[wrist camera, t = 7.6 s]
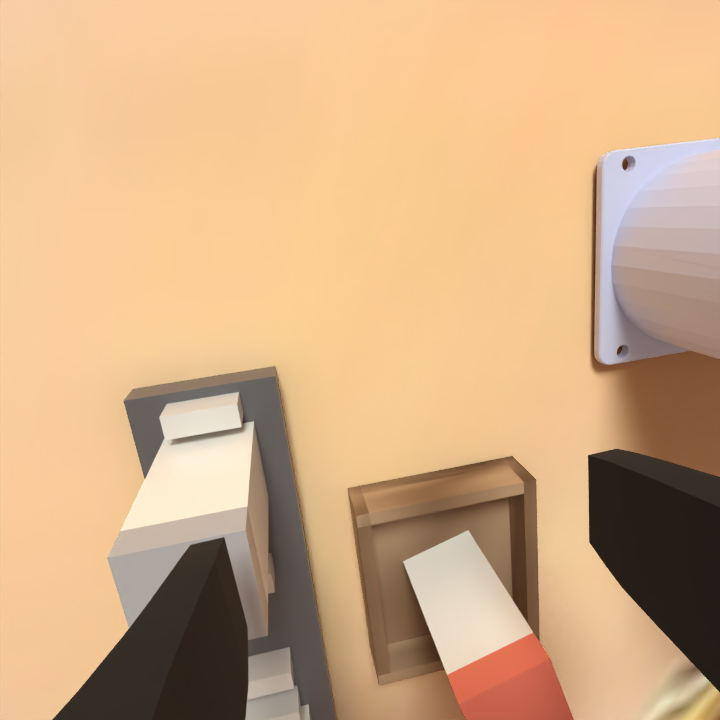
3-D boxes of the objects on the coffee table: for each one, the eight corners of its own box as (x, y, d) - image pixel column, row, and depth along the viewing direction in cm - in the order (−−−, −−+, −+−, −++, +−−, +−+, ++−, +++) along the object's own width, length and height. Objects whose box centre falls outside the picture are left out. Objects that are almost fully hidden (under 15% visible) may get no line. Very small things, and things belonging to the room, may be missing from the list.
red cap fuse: (468, 530, 21) (550, 658, 15) (489, 583, 22) (575, 724, 16) (403, 561, 21) (458, 704, 15) (427, 613, 22) (489, 767, 16)
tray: (512, 456, 21) (535, 479, 19) (517, 611, 24) (539, 645, 22) (347, 488, 20) (355, 516, 18) (370, 646, 23) (379, 685, 21)
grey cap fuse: (253, 421, 18) (245, 529, 12) (268, 496, 19) (267, 635, 12) (165, 436, 17) (107, 557, 11) (184, 513, 18) (140, 664, 12)
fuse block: (275, 366, 19) (276, 387, 16) (341, 748, 24) (349, 804, 22) (132, 389, 18) (112, 414, 16) (234, 776, 23) (230, 837, 21)
